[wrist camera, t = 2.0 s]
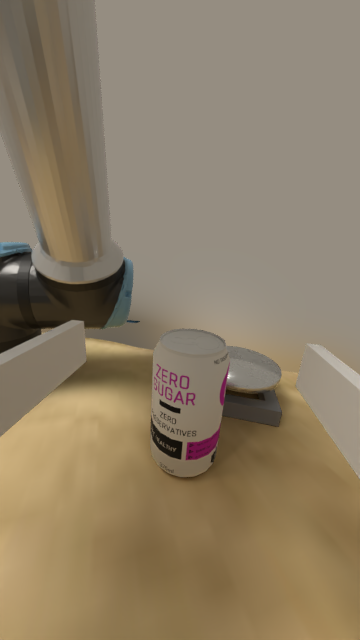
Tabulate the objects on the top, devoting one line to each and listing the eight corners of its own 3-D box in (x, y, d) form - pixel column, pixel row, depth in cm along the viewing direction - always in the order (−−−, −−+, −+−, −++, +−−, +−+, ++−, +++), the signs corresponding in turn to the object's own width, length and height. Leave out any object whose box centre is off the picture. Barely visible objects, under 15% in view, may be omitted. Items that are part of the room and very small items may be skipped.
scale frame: (192, 409, 35) (193, 395, 34) (201, 369, 47) (202, 358, 46) (278, 426, 32) (282, 412, 31) (264, 380, 44) (266, 368, 44)
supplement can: (212, 427, 31) (225, 329, 27) (218, 486, 23) (239, 361, 19) (156, 422, 31) (160, 324, 27) (144, 478, 24) (147, 353, 19)
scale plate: (189, 398, 33) (191, 376, 32) (200, 358, 47) (202, 341, 45) (286, 417, 31) (292, 393, 30) (268, 369, 44) (272, 351, 43)
